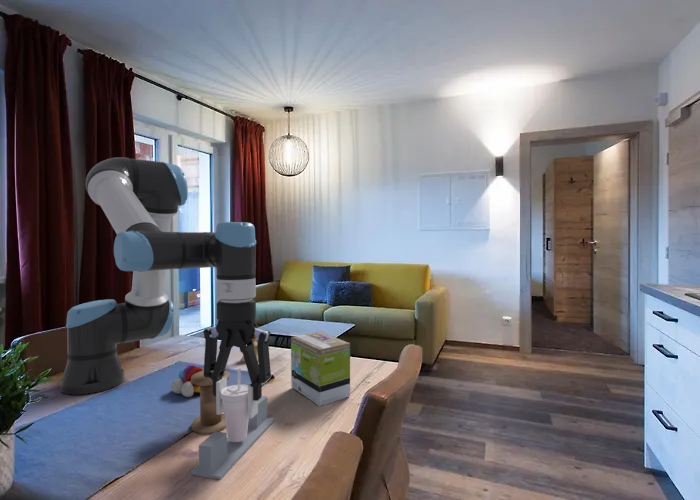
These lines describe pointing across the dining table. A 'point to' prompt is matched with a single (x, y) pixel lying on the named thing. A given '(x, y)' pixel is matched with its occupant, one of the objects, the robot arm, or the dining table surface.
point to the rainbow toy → (186, 381)
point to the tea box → (320, 367)
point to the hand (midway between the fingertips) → (237, 413)
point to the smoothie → (236, 410)
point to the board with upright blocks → (230, 446)
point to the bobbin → (207, 406)
